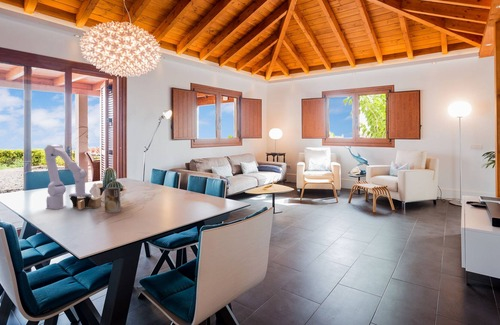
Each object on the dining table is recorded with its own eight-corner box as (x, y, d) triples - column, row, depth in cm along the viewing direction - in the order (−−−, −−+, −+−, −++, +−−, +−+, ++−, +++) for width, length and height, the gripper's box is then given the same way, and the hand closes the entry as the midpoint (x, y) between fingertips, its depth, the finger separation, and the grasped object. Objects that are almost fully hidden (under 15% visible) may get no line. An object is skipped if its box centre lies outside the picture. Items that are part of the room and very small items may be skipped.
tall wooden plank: (78, 209, 196) (78, 201, 196) (87, 205, 208) (87, 197, 208) (80, 209, 196) (80, 201, 196) (90, 205, 208) (90, 197, 208)
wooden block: (72, 207, 202) (72, 198, 201) (79, 205, 210) (79, 195, 209) (95, 208, 202) (95, 198, 201) (101, 205, 210) (101, 196, 210)
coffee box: (121, 210, 199) (120, 187, 197) (119, 212, 192) (119, 188, 191) (106, 210, 196) (106, 187, 195) (104, 212, 190) (104, 189, 189)
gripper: (65, 188, 193) (66, 208, 194) (87, 188, 193) (88, 208, 194) (72, 186, 200) (72, 205, 201) (93, 187, 200) (93, 206, 201)
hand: (80, 207), depth 198 cm, fingers open, 7 cm apart
